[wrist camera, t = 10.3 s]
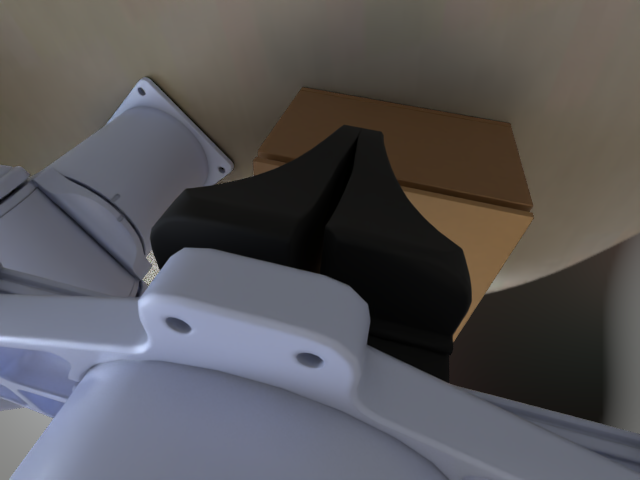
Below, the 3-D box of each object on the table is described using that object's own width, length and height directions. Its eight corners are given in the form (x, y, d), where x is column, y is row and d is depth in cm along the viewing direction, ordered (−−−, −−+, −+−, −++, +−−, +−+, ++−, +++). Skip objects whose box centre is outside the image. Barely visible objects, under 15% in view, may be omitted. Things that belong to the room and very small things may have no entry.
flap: (533, 212, 15) (534, 217, 15) (437, 362, 24) (437, 367, 24) (389, 183, 16) (389, 187, 15) (350, 339, 25) (349, 344, 24)
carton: (510, 123, 20) (537, 217, 15) (439, 273, 29) (438, 367, 24) (302, 86, 22) (250, 159, 16) (296, 240, 31) (262, 322, 25)
